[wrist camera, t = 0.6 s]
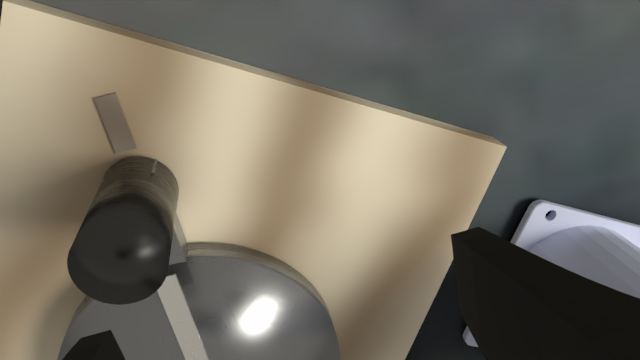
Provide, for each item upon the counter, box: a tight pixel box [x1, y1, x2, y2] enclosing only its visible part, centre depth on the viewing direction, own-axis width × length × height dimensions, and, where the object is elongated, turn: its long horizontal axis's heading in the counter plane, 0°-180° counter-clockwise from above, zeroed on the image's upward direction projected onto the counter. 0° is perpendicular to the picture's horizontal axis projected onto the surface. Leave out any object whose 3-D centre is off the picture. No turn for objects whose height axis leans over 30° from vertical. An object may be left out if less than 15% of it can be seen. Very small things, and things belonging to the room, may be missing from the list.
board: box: [0, 0, 507, 360], centre depth 23 cm, size 18×24×1 cm
